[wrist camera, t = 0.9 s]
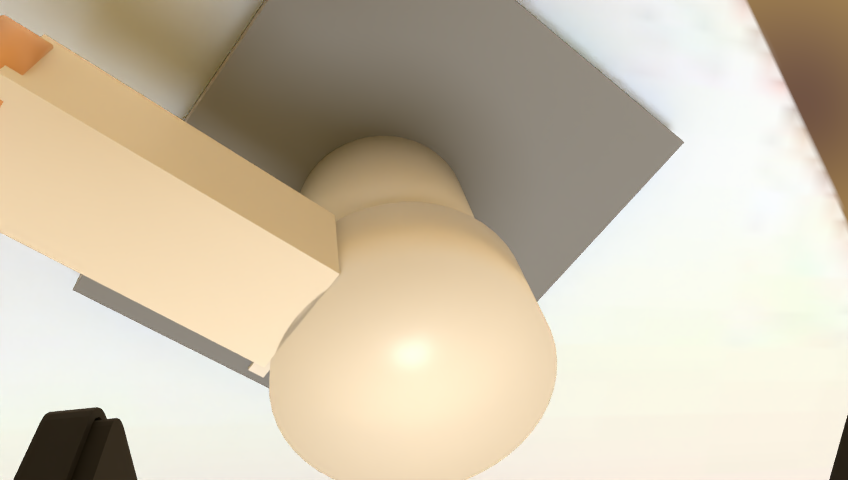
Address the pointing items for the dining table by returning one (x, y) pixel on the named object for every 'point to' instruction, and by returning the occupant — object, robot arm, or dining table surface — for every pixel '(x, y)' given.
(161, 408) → the dining table surface
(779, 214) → the dining table surface
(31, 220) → the cream piece
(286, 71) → the base
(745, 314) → the dining table surface
